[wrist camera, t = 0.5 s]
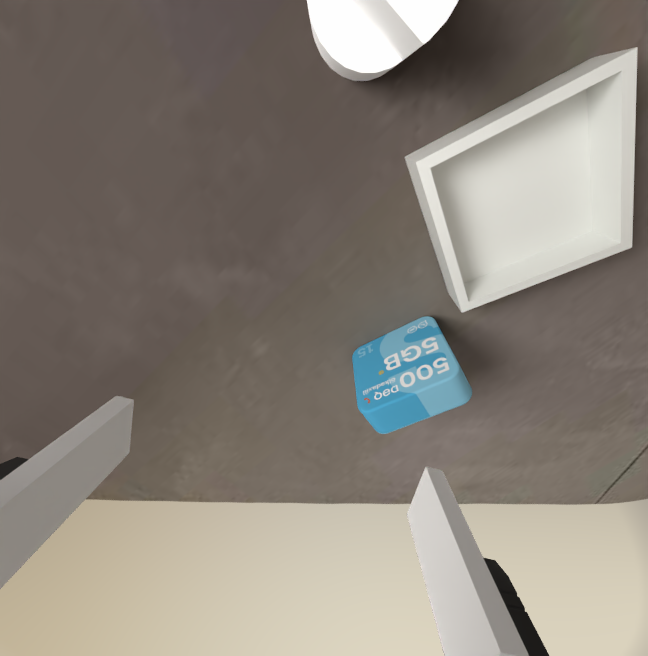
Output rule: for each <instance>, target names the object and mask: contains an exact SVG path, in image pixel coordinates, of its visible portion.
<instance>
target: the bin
mask: <svg viewBox="0 0 648 656" xmlns="http://www.w3.org/2000/svg"><path fill="white" fill-rule="evenodd" d="M636 83H637V47H636V48H632V49H627V50H623V51H619V52H614V53H610V54H606V55H601V56H597V57H593V58H591V59H589V60H587V61H585V62H583V63H581V64H579V65H577V66H575V67H574V68H572V69H570V70H568V71H566V72H564V73H562V74H560V75H558V76H557V77H555V78H553V79H551V80H549V81H547V82H545V83H543V84H541V85H540V86H538V87H536V88H534V89H532V90H530V91H528V92H526V93H524V94H523V95H521V96H519V97H517V98H515V99H513V100H511V101H509V102H507V103H506V104H504V105H502V106H500V107H498V108H496V109H494V110H492V111H490V112H489V113H487V114H485V115H483V116H481V117H479V118H477V119H475V120H473V121H472V122H470V123H468V124H466V125H464V126H462V127H460V128H458V129H456V130H455V131H453V132H451V133H449V134H447V135H445V136H443V137H441V138H439V139H438V140H436V141H434V142H432V143H430V144H428V145H426V146H424V147H422V148H420V149H419V150H417V151H415V152H413V153H411V154H409V155H407V156H405V160H406V163H407V166H408V170H409V173H410V176H411V179H412V182H413V185H414V188H415V191H416V194H417V197H418V201H419V204H420V207H421V210H422V213H423V216H424V219H425V222H426V225H427V229H428V232H429V235H430V238H431V241H432V244H433V247H434V250H435V253H436V256H437V260H438V263H439V266H440V269H441V272H442V275H443V278H444V281H445V284H446V288H447V291H448V294H449V295H450V296H451V298H452V299H453V301H454V302H455V304H456V305H457V306H458V308H459V309H460V311H461V312H465V311H468V310H470V309H473V308H476V307H478V306H481V305H483V304H486V303H489V302H491V301H494V300H496V299H499V298H502V297H504V296H507V295H509V294H512V293H515V292H517V291H520V290H522V289H525V288H528V287H530V286H533V285H535V284H538V283H541V282H543V281H546V280H548V279H551V278H554V277H556V276H559V275H562V274H564V273H567V272H569V271H572V270H575V269H577V268H580V267H582V266H585V265H588V264H590V263H593V262H595V261H598V260H601V259H603V258H606V257H608V256H611V255H614V254H616V253H619V252H621V251H624V250H627V249H629V248H632V235H633V197H634V159H635V121H636Z"/></svg>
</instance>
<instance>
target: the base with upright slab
mask: <svg viewBox="0 0 648 656" xmlns="http://www.w3.org/2000/svg"><path fill="white" fill-rule="evenodd" d="M458 1H459V0H307V4H308V10H309V16H310V22H311V27H312V32H313V37H314V41H315V43H316V45H317V47H318V50H319V52H320V54H321V56H322V57H323V59H324V60H325V61H326V63H327V64H328V65H329V67H330V68H331V69H333V70H334V71H335V72H337V73H338V74H339V75H341V76H342V77H345V78H348V79H351V80H353V81H369V80H372V79H375V78H378V77H381V76H382V75H384V74H385V73H386V72H388V71H389V70H391V69H392V68H394V67H395V66H396V65H398V64H399V63H400V62H401V61H403V60H404V59H405V58H407V57H408V56H409V55H411V54H412V53H413V52H415V51H416V50H417V49H418V48H420V47H421V46H422V45H424V44H425V43H426V42H428V41H429V40H430V39H431V38H432V37H433V36H434V34H435V33H436V32H437V31H438V30H439V29H440V28H441V27H442V26H443V24H444V23H445V22H446V21H447V20H448V18H449V16H450V15H451V13H452V11H453V10H454V8H455V6H456V4H457V3H458Z"/></svg>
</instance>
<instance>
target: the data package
mask: <svg viewBox="0 0 648 656" xmlns="http://www.w3.org/2000/svg"><path fill="white" fill-rule="evenodd" d="M352 360H353V369H354V378H355V387H356V396H357V405H358V409H359V410H360V412H361V413H362V414H363V415H364V416H365V418H366V419H367V420H368V421H369V423H370V424H371V425H372V426H373V428H374V429H375V430H376V431H377V432H379V433H382V434H386V433H390V432H392V431H395V430H398V429H400V428H403V427H405V426H408V425H411V424H413V423H416V422H419V421H421V420H424V419H427V418H429V417H432V416H434V415H437V414H440V413H442V412H445V411H448V410H450V409H453V408H456V407H458V406H461V405H463V404H465V403H467V402H468V401H469V400H470V398H471V396H472V389H471V386H470V385H469V383H468V381H467V379H466V377H465V375H464V373H463V371H462V369H461V367H460V365H459V363H458V361H457V359H456V357H455V355H454V354H453V352H452V350H451V348H450V346H449V344H448V343H447V341H446V339H445V337H444V335H443V333H442V332H441V330H440V328H439V326H438V324H437V322H436V321H435V319H434V318H432V317H429V316H426V317H421V318H419V319H417V320H415V321H413V322H411V323H409V324H406V325H404V326H402V327H400V328H398V329H396V330H394V331H392V332H390V333H388V334H386V335H384V336H381V337H379V338H377V339H375V340H373V341H371V342H369V343H367V344H365V345H363V346H361V347H359V348H358V349H357V350H356V351H355V352H354V354H353V356H352Z"/></svg>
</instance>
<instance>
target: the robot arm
mask: <svg viewBox="0 0 648 656" xmlns="http://www.w3.org/2000/svg"><path fill="white" fill-rule="evenodd" d="M133 404H134V400H132V399H128V398H123V397H119V396H115V397H114V398H113V399H111V400H110V401H108V402H107V403H106V404H104V405H103V406H102V407H100V408H99V409H98V410H96V411H95V412H93V413H92V414H91V415H89V416H88V417H87V418H85V419H84V420H82V421H81V422H80V423H78V424H77V425H76V426H74V427H73V428H71V429H70V430H69V431H67V432H66V433H65V434H63V435H62V436H60V437H59V438H58V439H56V440H55V441H54V442H52V443H51V444H49V445H48V446H47V447H45V448H44V449H43V450H41V451H40V452H38V453H37V454H36V455H34V456H33V457H32V458H30V459H24V458H20V457H16V458H14V459H11V460H9V461H7V462H4V463H2V464H0V589H1V588H2V587H3V585H4V584H5V583H6V582H7V581H8V580H9V579H10V578H11V577H12V576H13V575H14V574H15V573H16V572H17V571H18V570H19V569H20V568H21V566H22V565H23V564H24V563H25V562H26V561H27V560H28V559H29V558H30V557H31V556H32V555H33V554H34V553H35V552H36V551H37V550H38V549H39V547H40V546H41V545H42V544H43V543H44V542H45V541H46V540H47V539H48V538H49V537H50V536H51V535H52V534H53V533H54V532H55V530H57V528H58V527H59V526H60V525H61V524H62V523H63V522H64V521H65V520H66V519H67V518H68V517H69V515H71V514H72V513H73V512H74V511H75V509H76V508H77V507H78V506H79V505H80V504H81V503H82V502H83V501H84V500H85V499H86V498H87V497H88V496H89V495H90V494H91V493H92V492H93V491H94V490H95V488H96V487H97V486H98V485H99V484H100V483H101V482H102V481H103V480H104V479H105V478H106V477H107V476H108V475H109V474H110V473H111V472H112V471H113V469H114V468H115V467H116V466H117V465H118V464H119V463H120V462H121V461H122V460H123V459H124V458H125V457H126V456H127V455H128V454H129V450H130V439H131V427H132V416H133ZM407 517H408V521H409V524H410V528H411V532H412V536H413V539H414V543H415V547H416V550H417V555H418V558H419V562H420V566H421V570H422V573H423V577H424V580H425V585H426V588H427V592H428V595H429V599H430V603H431V607H432V611H433V615H434V618H435V622H436V625H437V630H438V633H439V637H440V641H441V644H442V648H443V652H444V656H549V654H548V653H547V650H546V649H545V647H544V645H543V643H542V641H541V639H540V637H539V635H538V633H537V631H536V629H535V627H534V626H533V624H532V622H531V620H530V618H529V616H528V614H527V612H525V608H524V606H523V604H522V602H521V600H520V598H519V597H517V592H516V591H515V589H514V587H513V585H512V583H511V581H510V579H509V577H508V576H507V574H506V573H505V572H504V571H503V569H502V568H501V567H500V566H499V565H498V563H497V562H496V561H495V560H491V559H487V558H483V556H482V554H481V552H480V550H479V548H478V546H477V544H476V541H475V539H474V537H473V535H472V533H471V531H470V529H469V526H468V524H467V522H466V520H465V518H464V516H463V514H462V512H461V509H460V507H459V505H458V503H457V501H456V499H455V497H454V494H453V492H452V490H451V488H450V486H449V484H448V482H447V480H446V477H445V475H444V473H443V471H442V470H438V469H434V468H430V467H425V470H424V472H423V475H422V477H421V480H420V482H419V485H418V487H417V490H416V493H415V495H414V498H413V500H412V503H411V505H410V508H409V510H408V513H407Z"/></svg>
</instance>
